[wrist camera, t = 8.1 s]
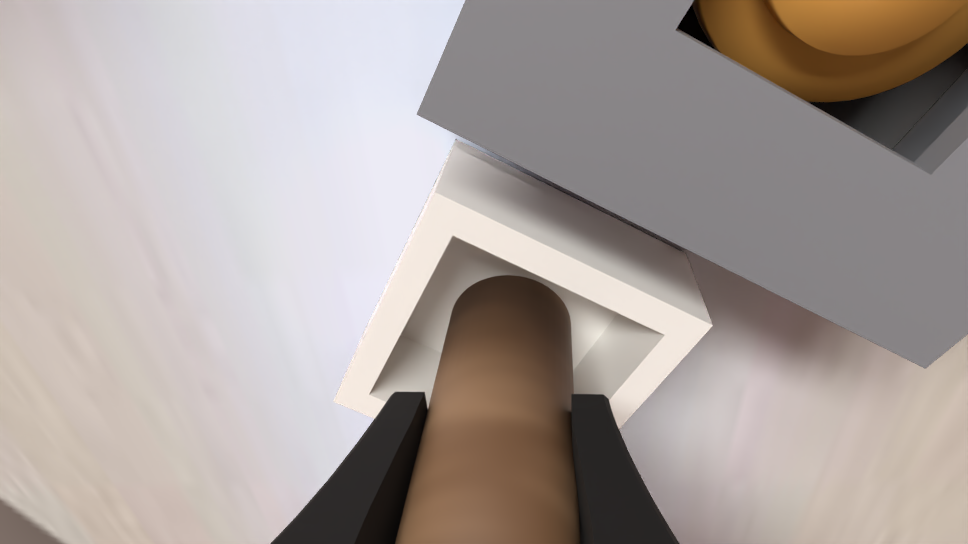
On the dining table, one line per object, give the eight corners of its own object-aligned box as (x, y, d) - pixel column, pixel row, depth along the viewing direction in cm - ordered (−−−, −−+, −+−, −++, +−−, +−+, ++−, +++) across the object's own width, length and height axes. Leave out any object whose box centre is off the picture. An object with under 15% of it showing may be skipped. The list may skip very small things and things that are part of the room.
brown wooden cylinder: (595, 311, 14) (642, 771, 7) (530, 388, 16) (509, 835, 8) (487, 254, 14) (408, 684, 6) (430, 339, 15) (310, 769, 8)
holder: (685, 253, 15) (712, 325, 12) (559, 412, 18) (560, 494, 16) (455, 139, 14) (434, 191, 11) (365, 327, 17) (332, 401, 15)
